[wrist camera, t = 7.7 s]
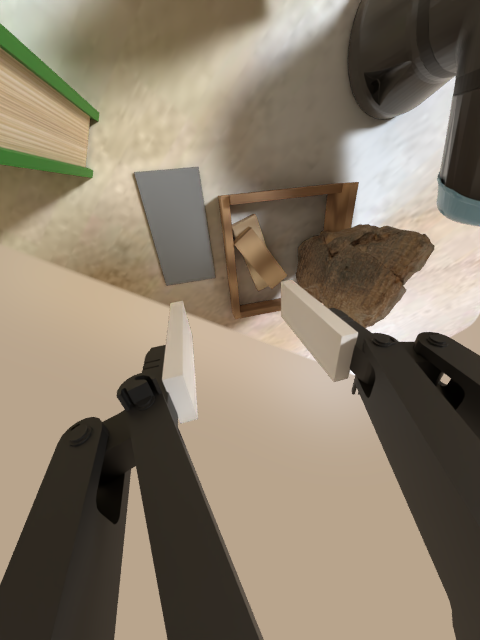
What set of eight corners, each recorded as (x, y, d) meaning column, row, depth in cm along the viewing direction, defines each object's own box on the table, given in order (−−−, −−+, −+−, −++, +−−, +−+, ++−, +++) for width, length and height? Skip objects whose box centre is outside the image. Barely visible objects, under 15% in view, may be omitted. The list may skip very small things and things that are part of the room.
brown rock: (295, 285, 45) (372, 342, 30) (276, 281, 43) (349, 340, 27) (328, 215, 39) (447, 241, 24) (308, 206, 37) (425, 227, 21)
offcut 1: (229, 225, 37) (231, 226, 35) (252, 213, 37) (255, 214, 35) (255, 287, 44) (258, 291, 42) (274, 278, 44) (278, 281, 42)
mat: (134, 172, 30) (133, 172, 30) (198, 167, 31) (198, 166, 31) (166, 284, 39) (166, 285, 39) (215, 277, 40) (215, 277, 40)
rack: (218, 195, 34) (223, 196, 29) (335, 183, 37) (358, 182, 32) (232, 311, 45) (238, 327, 40) (320, 295, 48) (336, 308, 43)
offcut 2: (232, 242, 37) (234, 244, 35) (248, 226, 36) (251, 228, 34) (268, 285, 42) (271, 289, 40) (283, 272, 41) (287, 275, 40)
